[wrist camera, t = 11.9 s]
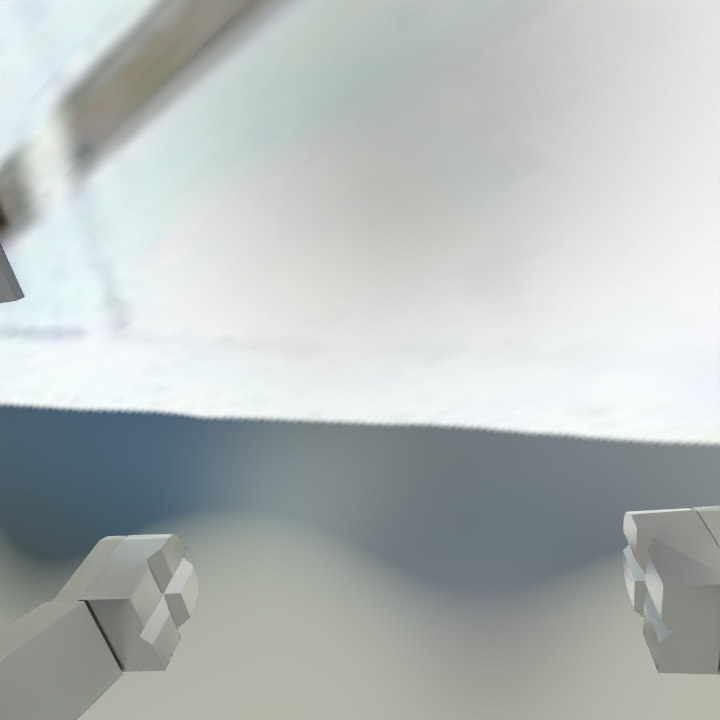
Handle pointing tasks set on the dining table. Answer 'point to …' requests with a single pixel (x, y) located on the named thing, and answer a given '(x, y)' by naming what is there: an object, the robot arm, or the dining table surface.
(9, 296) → the mat
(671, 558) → the robot arm
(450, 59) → the dining table surface
